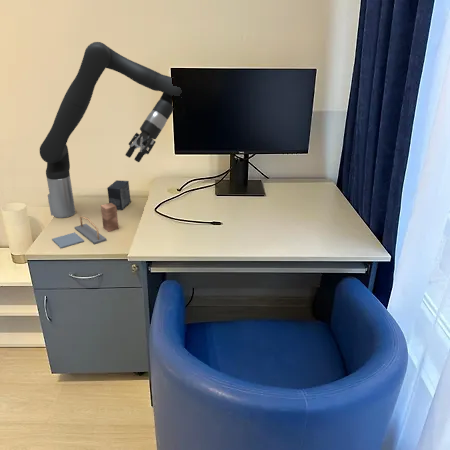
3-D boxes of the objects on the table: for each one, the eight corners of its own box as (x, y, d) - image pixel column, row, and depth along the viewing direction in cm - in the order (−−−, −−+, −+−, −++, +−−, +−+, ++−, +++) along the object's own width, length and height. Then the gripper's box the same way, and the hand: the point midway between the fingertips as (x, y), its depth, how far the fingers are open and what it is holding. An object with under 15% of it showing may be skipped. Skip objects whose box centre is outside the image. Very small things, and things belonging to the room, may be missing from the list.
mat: (60, 248, 159) (60, 247, 158) (52, 239, 165) (51, 238, 165) (84, 241, 164) (84, 240, 164) (74, 233, 170) (74, 232, 170)
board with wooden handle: (94, 245, 162) (92, 227, 159) (74, 229, 174) (72, 212, 171) (106, 241, 165) (104, 224, 162) (86, 226, 177) (84, 209, 174)
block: (108, 231, 172) (105, 208, 167) (103, 228, 175) (100, 205, 171) (118, 228, 174) (116, 206, 170) (113, 225, 177) (111, 202, 173)
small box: (118, 200, 202) (115, 179, 198) (131, 201, 201) (129, 180, 197) (108, 209, 193) (106, 187, 188) (122, 210, 192) (120, 188, 187)
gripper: (138, 116, 174) (117, 150, 173) (155, 121, 163) (132, 157, 163) (152, 127, 179) (131, 160, 178) (169, 132, 168) (146, 167, 168)
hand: (131, 158), depth 170 cm, fingers open, 8 cm apart
